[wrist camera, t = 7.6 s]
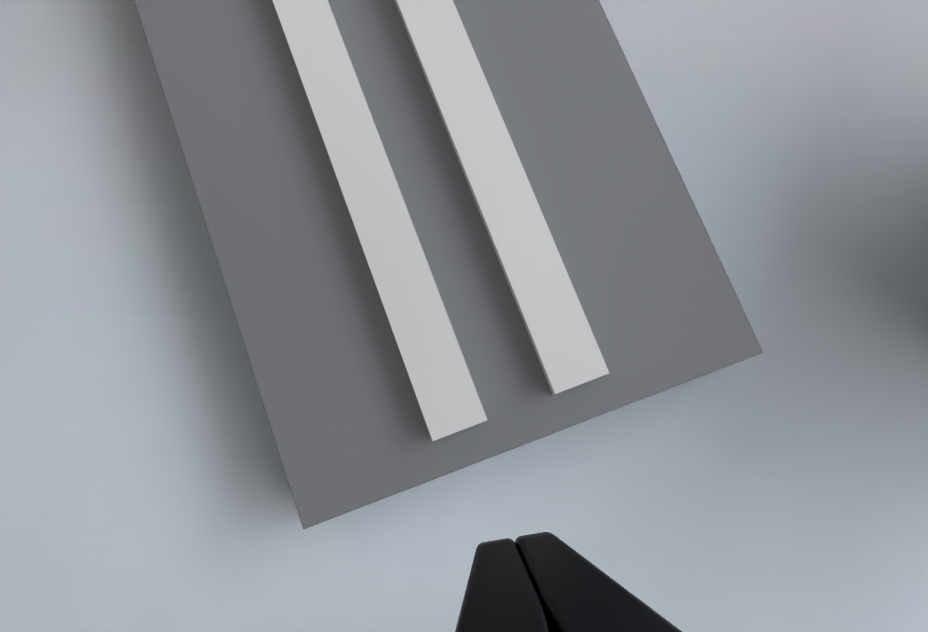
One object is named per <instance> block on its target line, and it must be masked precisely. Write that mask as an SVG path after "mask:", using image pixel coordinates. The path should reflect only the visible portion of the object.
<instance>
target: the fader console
mask: <svg viewBox="0 0 928 632" xmlns="http://www.w3.org/2000/svg"><path fill="white" fill-rule="evenodd" d="M134 1H135V4H136V7H137V10H138V13H139V16H140V20H141V23H142V26H143V29H144V32H145V35H146V38H147V41H148V45H149V48H150V51H151V54H152V57H153V60H154V63H155V66H156V70H157V73H158V76H159V79H160V82H161V85H162V88H163V92H164V95H165V98H166V101H167V104H168V107H169V110H170V113H171V117H172V120H173V123H174V126H175V129H176V132H177V135H178V138H179V142H180V145H181V148H182V151H183V154H184V157H185V160H186V163H187V167H188V170H189V173H190V176H191V179H192V182H193V185H194V189H195V192H196V195H197V198H198V201H199V204H200V207H201V210H202V214H203V217H204V220H205V223H206V226H207V229H208V232H209V235H210V239H211V242H212V245H213V248H214V251H215V254H216V257H217V261H218V264H219V267H220V270H221V273H222V276H223V279H224V282H225V286H226V289H227V292H228V295H229V298H230V301H231V304H232V307H233V311H234V314H235V317H236V320H237V323H238V326H239V329H240V332H241V336H242V339H243V342H244V345H245V348H246V351H247V354H248V358H249V361H250V364H251V367H252V370H253V373H254V376H255V379H256V383H257V386H258V389H259V392H260V395H261V398H262V401H263V404H264V408H265V411H266V414H267V417H268V420H269V423H270V426H271V429H272V433H273V436H274V439H275V442H276V445H277V448H278V451H279V455H280V458H281V461H282V464H283V467H284V470H285V473H286V476H287V480H288V483H289V486H290V489H291V492H292V495H293V498H294V501H295V505H296V508H297V511H298V514H299V517H300V520H301V523H302V527H303V529H306V528H308V527H311V526H314V525H316V524H319V523H321V522H324V521H327V520H329V519H332V518H334V517H337V516H339V515H342V514H345V513H347V512H350V511H352V510H355V509H358V508H360V507H363V506H365V505H368V504H371V503H373V502H376V501H378V500H381V499H384V498H386V497H389V496H391V495H394V494H397V493H399V492H402V491H404V490H407V489H410V488H412V487H415V486H417V485H420V484H423V483H425V482H428V481H430V480H433V479H436V478H438V477H441V476H443V475H446V474H448V473H451V472H454V471H456V470H459V469H461V468H464V467H467V466H469V465H472V464H474V463H477V462H480V461H482V460H485V459H487V458H490V457H493V456H495V455H498V454H500V453H503V452H506V451H508V450H511V449H513V448H516V447H519V446H521V445H524V444H526V443H529V442H532V441H534V440H537V439H539V438H542V437H545V436H547V435H550V434H552V433H555V432H557V431H560V430H563V429H565V428H568V427H570V426H573V425H576V424H578V423H581V422H583V421H586V420H589V419H591V418H594V417H596V416H599V415H602V414H604V413H607V412H609V411H612V410H615V409H617V408H620V407H622V406H625V405H628V404H630V403H633V402H635V401H638V400H641V399H643V398H646V397H648V396H651V395H654V394H656V393H659V392H661V391H664V390H666V389H669V388H672V387H674V386H677V385H679V384H682V383H685V382H687V381H690V380H692V379H695V378H698V377H700V376H703V375H705V374H708V373H711V372H713V371H716V370H718V369H721V368H724V367H726V366H729V365H731V364H734V363H737V362H739V361H742V360H744V359H747V358H750V357H752V356H755V355H757V354H760V353H763V351H762V349H761V347H760V345H759V343H758V340H757V338H756V336H755V334H754V332H753V330H752V328H751V325H750V323H749V321H748V319H747V317H746V315H745V313H744V310H743V308H742V306H741V304H740V302H739V300H738V298H737V295H736V293H735V291H734V289H733V287H732V285H731V283H730V280H729V278H728V276H727V274H726V272H725V270H724V268H723V265H722V263H721V261H720V259H719V257H718V255H717V253H716V250H715V248H714V246H713V244H712V242H711V240H710V238H709V235H708V233H707V231H706V229H705V227H704V225H703V223H702V220H701V218H700V216H699V214H698V212H697V210H696V208H695V205H694V203H693V201H692V199H691V197H690V195H689V192H688V190H687V188H686V186H685V184H684V182H683V180H682V177H681V175H680V173H679V171H678V169H677V167H676V165H675V162H674V160H673V158H672V156H671V154H670V152H669V150H668V147H667V145H666V143H665V141H664V139H663V137H662V135H661V132H660V130H659V128H658V126H657V124H656V122H655V120H654V117H653V115H652V113H651V111H650V109H649V107H648V105H647V102H646V100H645V98H644V96H643V94H642V92H641V90H640V87H639V85H638V83H637V81H636V79H635V77H634V75H633V72H632V70H631V68H630V66H629V64H628V62H627V60H626V57H625V55H624V53H623V51H622V49H621V47H620V45H619V42H618V40H617V38H616V36H615V34H614V32H613V30H612V27H611V25H610V23H609V21H608V19H607V17H606V15H605V12H604V10H603V8H602V6H601V4H600V2H599V0H134Z"/></svg>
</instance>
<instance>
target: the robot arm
mask: <svg viewBox="0 0 928 632" xmlns="http://www.w3.org/2000/svg"><path fill="white" fill-rule="evenodd" d="M455 632H682V631H680V630H679V629H678V628H676V627H675V626H674V625H672V624H671V623H670V622H669V621H667V620H666V619H665V618H663V617H662V616H661V615H659V614H658V613H657V612H655V611H654V610H653V609H651V608H650V607H649V606H647V605H646V604H645V603H643V602H642V601H641V600H639V599H638V598H637V597H635V596H634V595H633V594H631V593H630V592H629V591H628V590H626V589H625V588H624V587H622V586H621V585H620V584H618V583H617V582H616V581H614V580H613V579H612V578H610V577H609V576H608V575H606V574H605V573H604V572H602V571H601V570H600V569H598V568H597V567H596V566H594V565H593V564H592V563H590V562H589V561H588V560H587V559H585V558H584V557H583V556H581V555H580V554H579V553H577V552H576V551H575V550H573V549H572V548H571V547H569V546H568V545H567V544H565V543H564V542H563V541H561V540H560V539H559V538H557V537H556V536H555V535H553V534H551V533H549V532H543V533H537V534H531V535H525V536H520V537H518V538H517V539H516V541H515V542H514V541H513V540H511V539H508V538H507V539H501V540H494V541H488V542H483V543H480V544H479V545H478V547H477V549H476V552H475V556H474V560H473V564H472V568H471V572H470V576H469V580H468V584H467V588H466V591H465V595H464V599H463V603H462V607H461V611H460V615H459V619H458V623H457V627H456V631H455Z"/></svg>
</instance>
